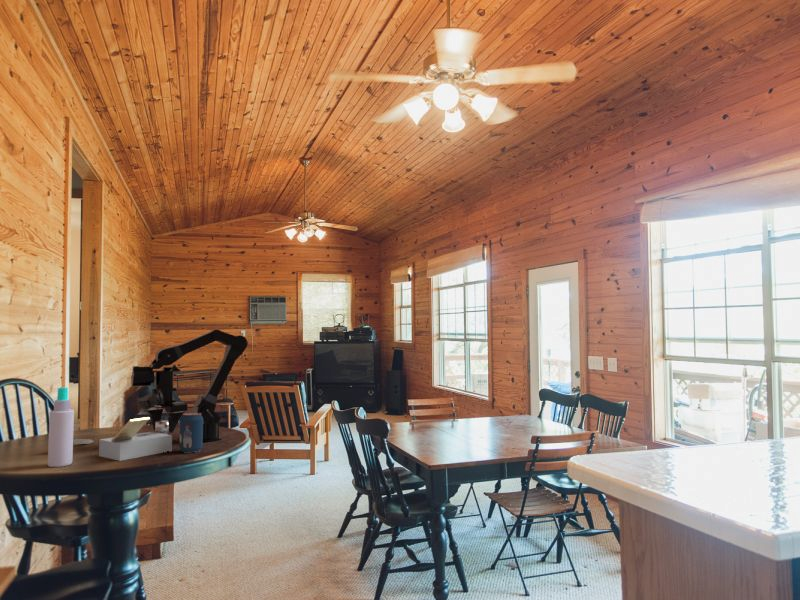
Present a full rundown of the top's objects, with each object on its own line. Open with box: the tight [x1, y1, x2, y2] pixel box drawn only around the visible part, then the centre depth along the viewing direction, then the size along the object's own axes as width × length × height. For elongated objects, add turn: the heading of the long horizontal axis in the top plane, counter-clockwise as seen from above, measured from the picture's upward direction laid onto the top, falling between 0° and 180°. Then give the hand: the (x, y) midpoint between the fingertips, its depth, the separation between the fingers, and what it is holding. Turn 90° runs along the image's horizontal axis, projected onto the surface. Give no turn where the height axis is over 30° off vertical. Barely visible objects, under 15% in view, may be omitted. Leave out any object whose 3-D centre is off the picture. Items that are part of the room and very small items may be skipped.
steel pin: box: [154, 420, 169, 434], centre depth 188 cm, size 5×5×8 cm
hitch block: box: [98, 431, 173, 462], centre depth 174 cm, size 17×12×6 cm
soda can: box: [179, 411, 204, 454], centre depth 177 cm, size 7×7×12 cm
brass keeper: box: [112, 416, 151, 440], centre depth 166 cm, size 6×11×1 cm
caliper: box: [73, 438, 95, 445], centre depth 183 cm, size 20×1×6 cm, turn 174°
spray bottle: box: [47, 387, 75, 468], centre depth 159 cm, size 6×6×22 cm
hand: (163, 431), depth 188 cm, fingers open, 9 cm apart
